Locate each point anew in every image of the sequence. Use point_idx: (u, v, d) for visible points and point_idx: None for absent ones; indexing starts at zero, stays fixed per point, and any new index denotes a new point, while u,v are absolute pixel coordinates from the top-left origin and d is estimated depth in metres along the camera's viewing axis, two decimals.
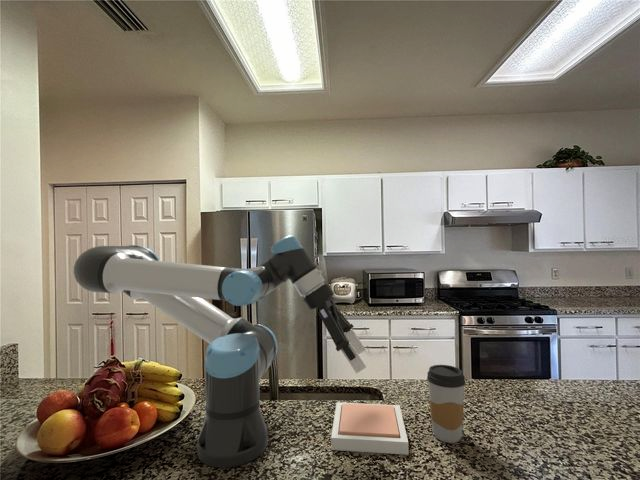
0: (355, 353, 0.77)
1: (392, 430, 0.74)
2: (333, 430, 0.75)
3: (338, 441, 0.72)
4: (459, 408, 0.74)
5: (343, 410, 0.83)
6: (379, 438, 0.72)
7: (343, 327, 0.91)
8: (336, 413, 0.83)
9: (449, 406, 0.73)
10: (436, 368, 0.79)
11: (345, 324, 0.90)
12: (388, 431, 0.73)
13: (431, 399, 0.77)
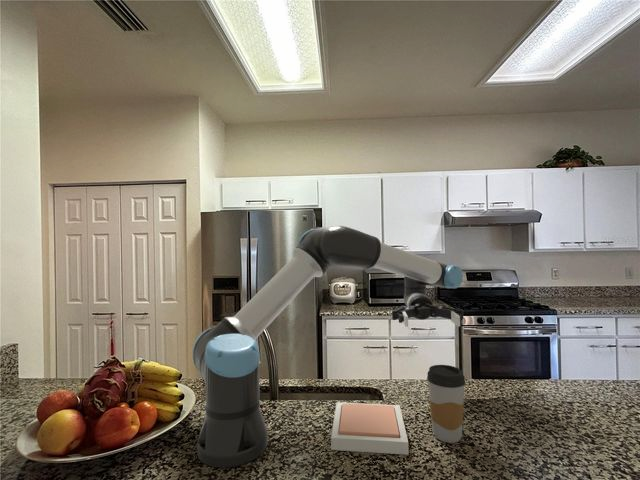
0: None
1: (392, 430, 0.74)
2: (333, 430, 0.75)
3: (338, 441, 0.72)
4: (459, 408, 0.74)
5: (343, 410, 0.83)
6: (379, 438, 0.72)
7: (405, 314, 0.99)
8: (336, 413, 0.83)
9: (449, 406, 0.73)
10: (436, 368, 0.79)
11: None
12: (388, 431, 0.73)
13: (431, 399, 0.77)
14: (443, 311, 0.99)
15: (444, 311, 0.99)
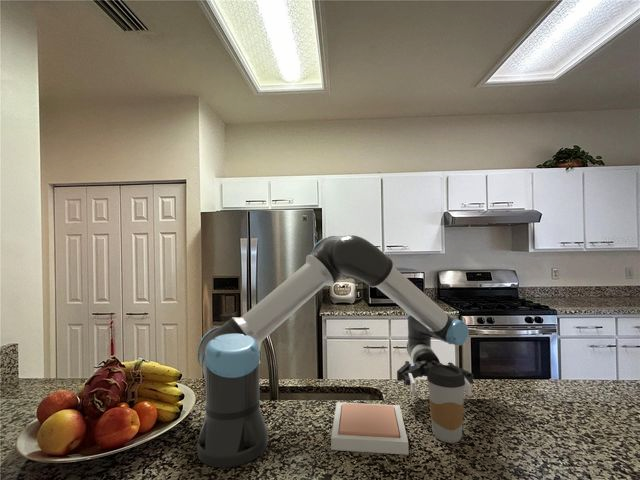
0: None
1: (392, 430, 0.74)
2: (333, 430, 0.75)
3: (338, 441, 0.72)
4: (459, 408, 0.74)
5: (343, 410, 0.83)
6: (379, 438, 0.72)
7: (411, 374, 0.93)
8: (336, 413, 0.83)
9: (449, 406, 0.73)
10: (436, 368, 0.79)
11: (412, 377, 0.93)
12: (388, 431, 0.73)
13: (431, 399, 0.77)
14: None
15: None
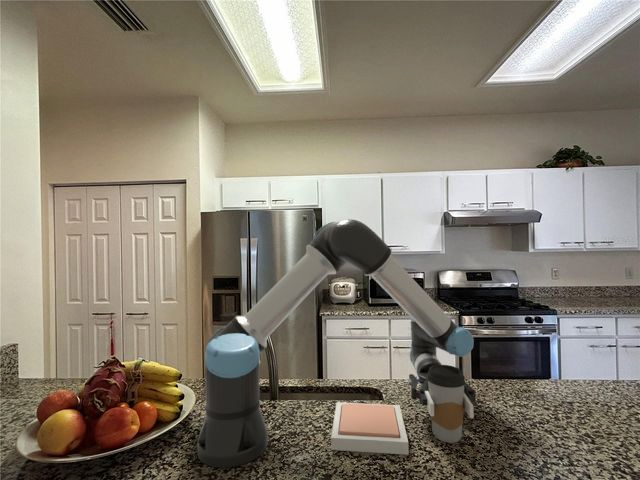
0: None
1: (392, 430, 0.74)
2: (333, 430, 0.75)
3: (338, 441, 0.72)
4: (459, 408, 0.74)
5: (343, 410, 0.83)
6: (379, 438, 0.72)
7: None
8: (336, 413, 0.83)
9: (449, 406, 0.73)
10: (436, 368, 0.79)
11: None
12: (388, 431, 0.73)
13: None
14: None
15: None
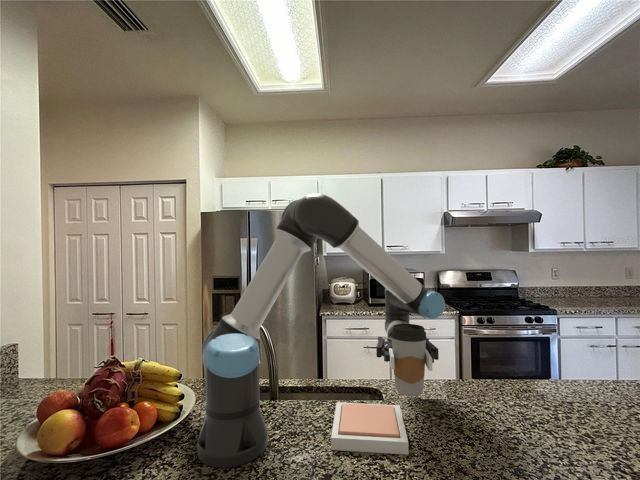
0: None
1: (392, 430, 0.74)
2: (333, 430, 0.75)
3: (338, 441, 0.72)
4: (420, 362, 0.76)
5: (343, 410, 0.83)
6: (379, 438, 0.72)
7: None
8: (336, 413, 0.83)
9: (409, 360, 0.75)
10: (400, 326, 0.81)
11: None
12: (388, 431, 0.73)
13: (394, 355, 0.78)
14: None
15: None
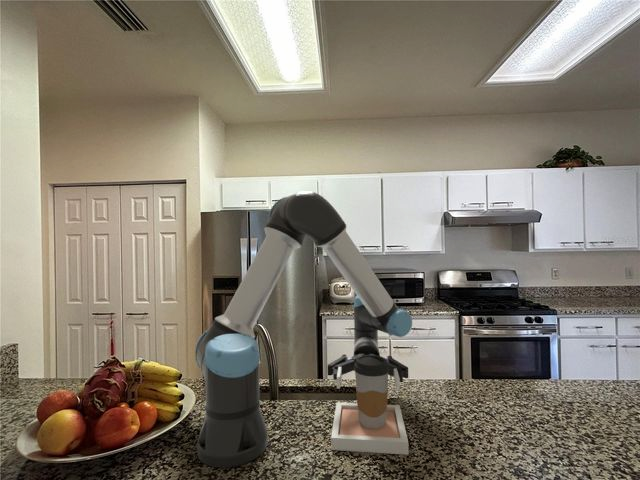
0: None
1: (392, 436, 0.74)
2: (333, 430, 0.75)
3: (338, 441, 0.72)
4: (382, 396, 0.76)
5: (343, 416, 0.83)
6: (379, 438, 0.72)
7: (343, 368, 0.85)
8: (336, 413, 0.83)
9: (371, 394, 0.76)
10: (364, 358, 0.81)
11: (345, 372, 0.86)
12: None
13: (357, 388, 0.79)
14: None
15: None
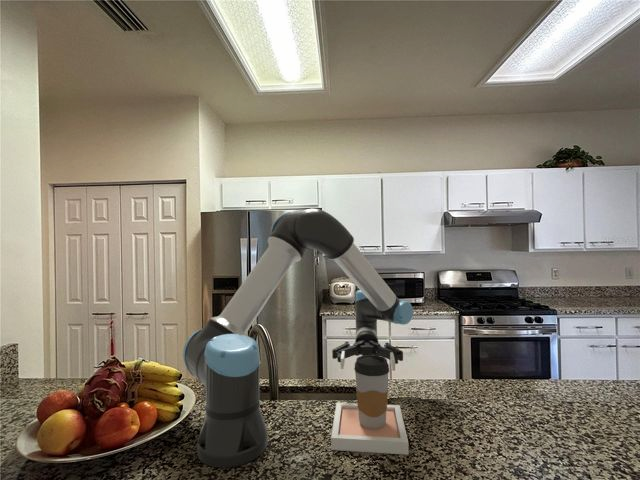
0: None
1: (392, 436, 0.74)
2: (333, 430, 0.75)
3: (338, 441, 0.72)
4: (382, 396, 0.76)
5: (343, 416, 0.83)
6: (379, 438, 0.72)
7: (346, 353, 0.97)
8: (336, 413, 0.83)
9: (371, 394, 0.76)
10: (364, 358, 0.81)
11: (347, 356, 0.98)
12: None
13: (357, 388, 0.79)
14: (384, 351, 0.97)
15: (385, 351, 0.97)
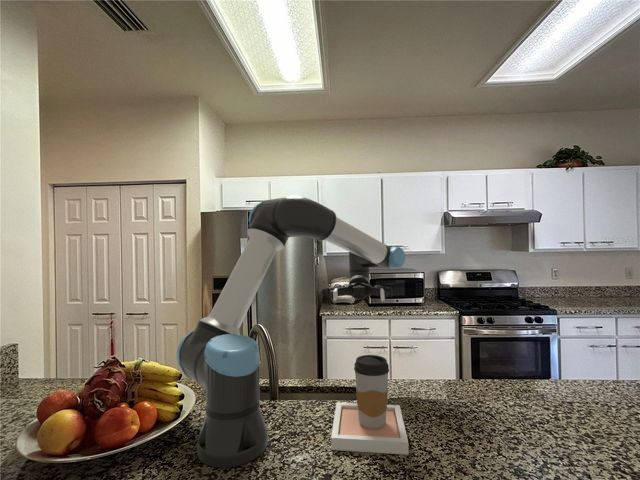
0: None
1: (392, 436, 0.74)
2: (333, 430, 0.75)
3: (338, 441, 0.72)
4: (381, 396, 0.76)
5: (343, 416, 0.83)
6: (379, 438, 0.72)
7: (339, 291, 1.03)
8: (336, 413, 0.83)
9: (371, 394, 0.76)
10: (364, 358, 0.82)
11: (340, 294, 1.03)
12: None
13: (357, 388, 0.79)
14: (375, 289, 1.02)
15: (376, 289, 1.02)
